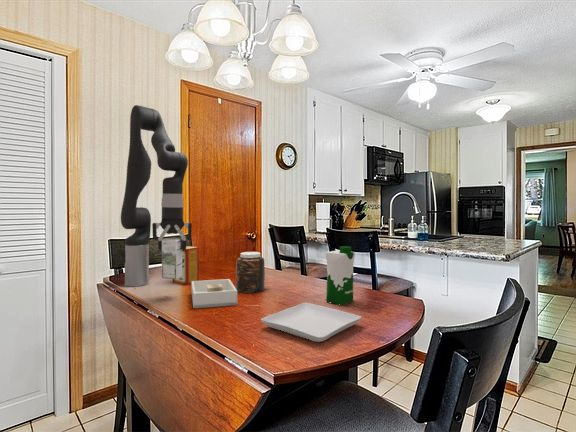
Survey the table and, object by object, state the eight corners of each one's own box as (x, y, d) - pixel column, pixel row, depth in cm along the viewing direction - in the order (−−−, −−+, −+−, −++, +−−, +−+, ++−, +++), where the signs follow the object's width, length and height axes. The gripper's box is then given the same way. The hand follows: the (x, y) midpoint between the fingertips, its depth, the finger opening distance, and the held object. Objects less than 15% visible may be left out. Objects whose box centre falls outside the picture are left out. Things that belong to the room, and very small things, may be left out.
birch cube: (207, 302, 119) (207, 288, 119) (206, 298, 124) (206, 284, 123) (222, 301, 120) (222, 287, 120) (220, 297, 125) (220, 284, 125)
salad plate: (321, 350, 83) (321, 336, 83) (258, 329, 97) (258, 317, 97) (363, 327, 99) (363, 315, 99) (304, 312, 113) (304, 301, 113)
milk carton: (344, 307, 118) (345, 248, 117) (322, 302, 123) (322, 246, 123) (356, 301, 124) (357, 246, 124) (335, 297, 130) (335, 244, 130)
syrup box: (182, 276, 131) (183, 237, 131) (176, 279, 125) (176, 239, 125) (168, 275, 132) (168, 237, 131) (161, 278, 126) (161, 239, 125)
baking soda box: (172, 282, 154) (172, 246, 153) (184, 279, 159) (184, 245, 159) (187, 285, 149) (187, 248, 148) (198, 282, 154) (198, 246, 154)
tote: (193, 308, 115) (193, 293, 115) (191, 294, 134) (191, 281, 134) (237, 304, 120) (237, 290, 119) (229, 291, 138) (229, 278, 138)
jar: (267, 292, 137) (267, 254, 137) (237, 294, 134) (237, 255, 134) (262, 285, 149) (262, 250, 148) (234, 287, 146) (234, 251, 145)
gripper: (192, 206, 133) (192, 249, 134) (152, 205, 129) (152, 249, 130) (193, 206, 126) (192, 251, 127) (150, 206, 122) (150, 252, 122)
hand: (172, 250), depth 128 cm, fingers closed on syrup box, 7 cm apart
